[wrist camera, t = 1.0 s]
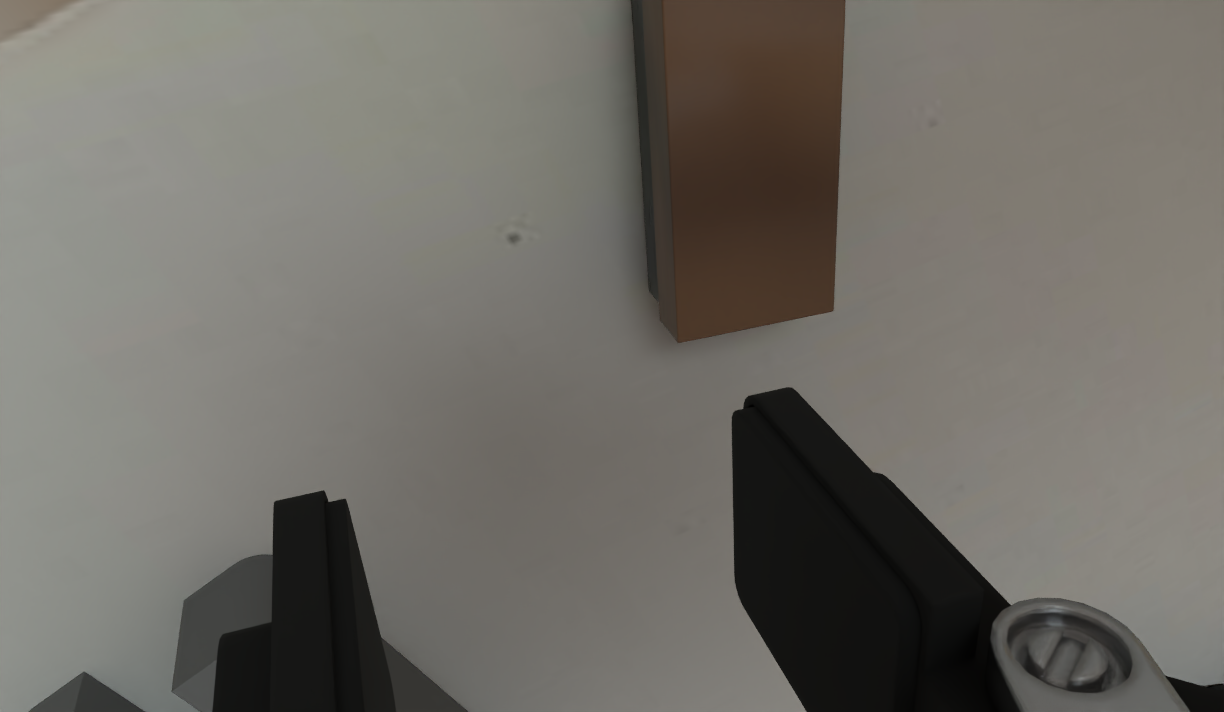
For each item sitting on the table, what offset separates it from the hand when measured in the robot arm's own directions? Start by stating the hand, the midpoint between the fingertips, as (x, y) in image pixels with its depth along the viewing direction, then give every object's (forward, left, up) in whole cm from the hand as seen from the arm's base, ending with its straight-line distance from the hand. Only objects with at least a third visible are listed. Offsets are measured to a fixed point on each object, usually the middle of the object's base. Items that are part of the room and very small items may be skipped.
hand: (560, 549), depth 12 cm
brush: (0, +8, -15) cm, 17 cm away
